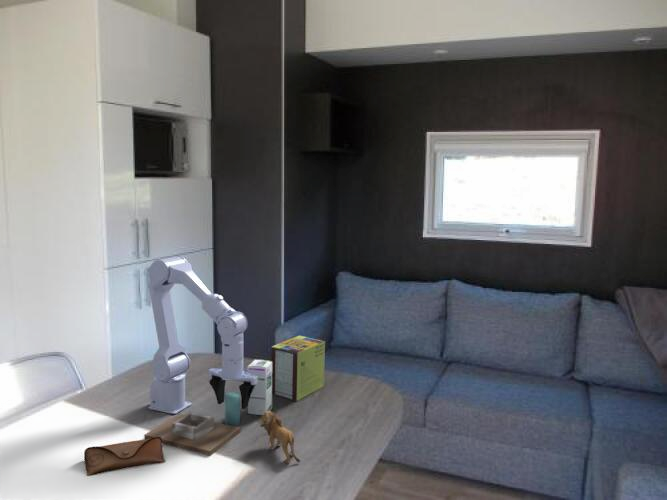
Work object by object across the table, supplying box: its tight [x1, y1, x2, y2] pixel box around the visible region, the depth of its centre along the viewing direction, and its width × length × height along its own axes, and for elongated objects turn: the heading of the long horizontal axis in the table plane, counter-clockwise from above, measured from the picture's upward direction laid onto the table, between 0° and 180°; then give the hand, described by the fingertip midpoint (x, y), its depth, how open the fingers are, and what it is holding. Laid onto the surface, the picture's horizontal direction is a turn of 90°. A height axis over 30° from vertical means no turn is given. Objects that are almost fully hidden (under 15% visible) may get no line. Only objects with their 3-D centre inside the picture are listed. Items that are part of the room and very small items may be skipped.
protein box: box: [270, 335, 326, 402], centre depth 179 cm, size 10×15×16 cm
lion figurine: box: [257, 410, 301, 464], centre depth 140 cm, size 15×5×9 cm, turn 44°
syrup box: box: [246, 359, 273, 416], centre depth 163 cm, size 6×6×14 cm
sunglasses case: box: [83, 437, 166, 477], centre depth 134 cm, size 18×7×7 cm, turn 116°
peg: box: [224, 391, 241, 427], centre depth 156 cm, size 4×4×8 cm
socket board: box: [143, 411, 242, 456], centre depth 148 cm, size 20×14×4 cm
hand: (232, 405), depth 155 cm, fingers open, 7 cm apart
